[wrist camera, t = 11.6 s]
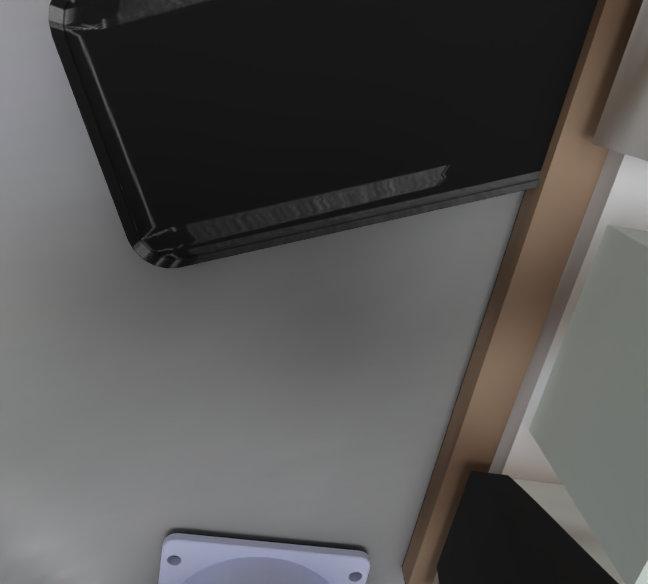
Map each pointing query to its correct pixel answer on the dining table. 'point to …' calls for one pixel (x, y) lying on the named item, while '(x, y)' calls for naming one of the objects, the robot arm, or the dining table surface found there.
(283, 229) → the phone
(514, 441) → the board
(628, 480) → the block
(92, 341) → the dining table surface
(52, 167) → the dining table surface
